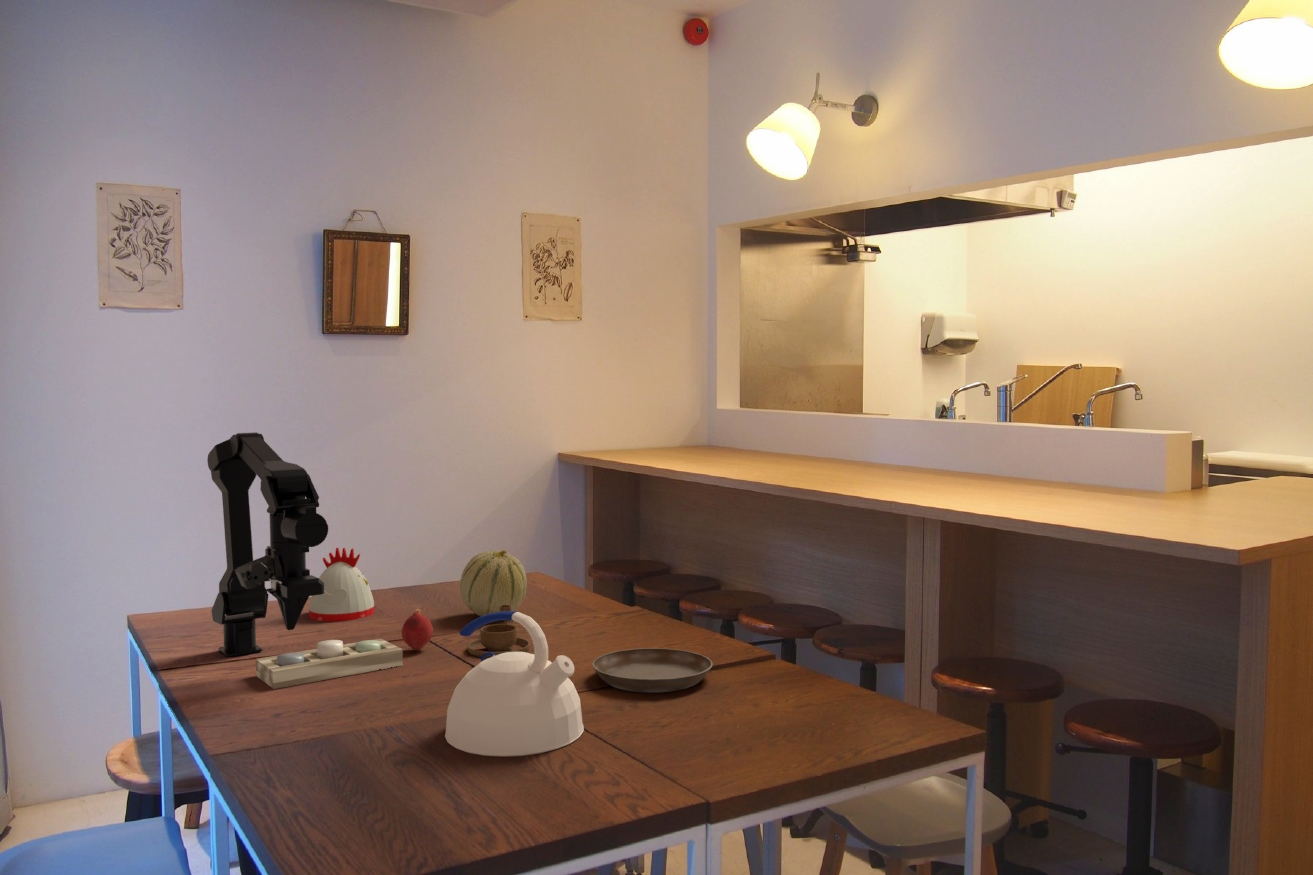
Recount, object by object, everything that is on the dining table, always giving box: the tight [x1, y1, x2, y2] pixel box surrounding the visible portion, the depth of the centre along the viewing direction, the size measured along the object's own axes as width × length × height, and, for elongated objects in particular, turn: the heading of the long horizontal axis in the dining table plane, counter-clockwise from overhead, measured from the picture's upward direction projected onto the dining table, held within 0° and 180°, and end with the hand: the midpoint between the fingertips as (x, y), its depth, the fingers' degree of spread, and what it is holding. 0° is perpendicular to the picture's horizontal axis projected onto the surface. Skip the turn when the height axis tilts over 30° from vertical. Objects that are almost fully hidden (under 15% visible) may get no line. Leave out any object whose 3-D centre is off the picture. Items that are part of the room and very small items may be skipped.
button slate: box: [276, 652, 304, 667], centre depth 180 cm, size 4×4×2 cm
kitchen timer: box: [308, 547, 375, 622], centre depth 229 cm, size 14×14×15 cm
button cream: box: [316, 639, 344, 659], centre depth 184 cm, size 4×4×2 cm
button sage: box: [355, 639, 381, 653], centre depth 188 cm, size 4×4×2 cm
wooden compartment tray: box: [255, 638, 404, 690], centre depth 184 cm, size 10×23×3 cm, turn 127°
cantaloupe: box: [459, 549, 528, 617], centre depth 225 cm, size 15×15×15 cm
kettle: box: [444, 610, 585, 758], centre depth 151 cm, size 20×21×18 cm
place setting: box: [466, 605, 535, 659], centre depth 201 cm, size 18×20×6 cm
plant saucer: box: [592, 647, 713, 694], centre depth 177 cm, size 21×21×3 cm
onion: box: [401, 608, 434, 652], centre depth 197 cm, size 6×6×8 cm
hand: (290, 629), depth 179 cm, fingers closed
